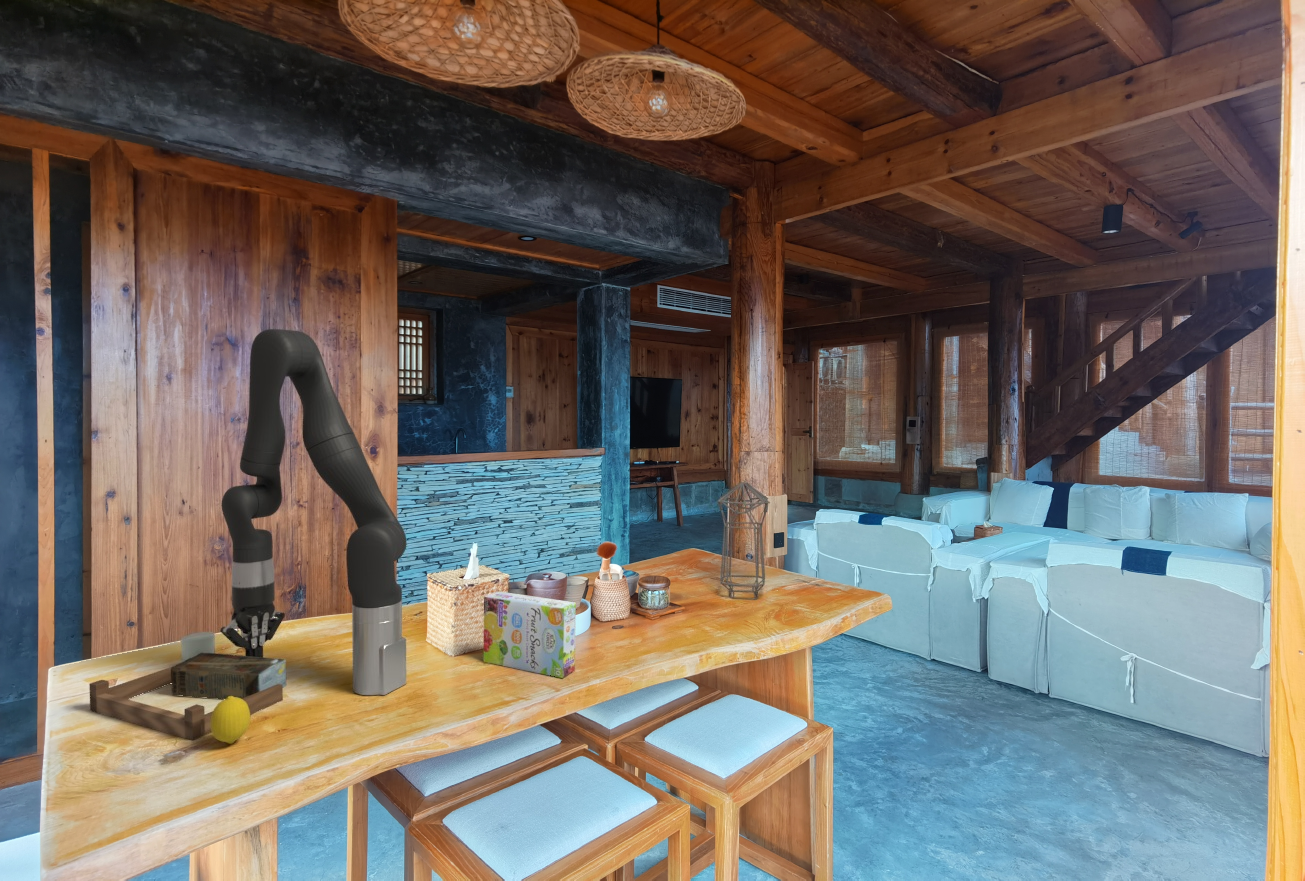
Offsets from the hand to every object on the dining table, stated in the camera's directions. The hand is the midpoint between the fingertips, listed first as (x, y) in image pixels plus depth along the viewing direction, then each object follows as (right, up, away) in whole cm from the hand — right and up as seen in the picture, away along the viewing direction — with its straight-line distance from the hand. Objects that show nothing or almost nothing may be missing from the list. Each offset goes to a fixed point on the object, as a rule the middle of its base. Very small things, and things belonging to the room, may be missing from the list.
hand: (254, 664), depth 135 cm
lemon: (+12, -4, -26) cm, 29 cm away
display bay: (-5, -4, -12) cm, 14 cm away
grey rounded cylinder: (-17, -3, +8) cm, 19 cm away
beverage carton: (-1, -4, -6) cm, 7 cm away
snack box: (+55, -4, +8) cm, 56 cm away
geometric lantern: (+110, -2, +67) cm, 129 cm away
